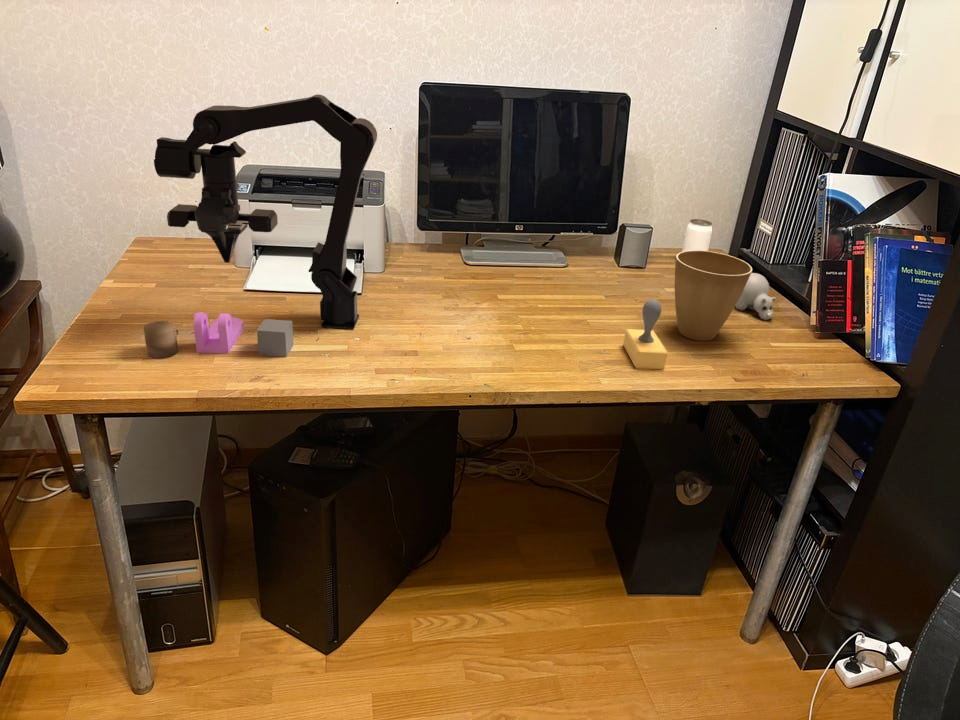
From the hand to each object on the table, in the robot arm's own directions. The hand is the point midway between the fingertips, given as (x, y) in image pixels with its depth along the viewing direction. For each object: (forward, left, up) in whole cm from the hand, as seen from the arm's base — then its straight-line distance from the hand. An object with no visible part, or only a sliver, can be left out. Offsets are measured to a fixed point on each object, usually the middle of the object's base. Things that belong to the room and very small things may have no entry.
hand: (227, 262), depth 135 cm
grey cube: (-12, +13, -12) cm, 21 cm away
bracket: (-1, +9, -12) cm, 15 cm away
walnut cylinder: (+7, +17, -12) cm, 22 cm away
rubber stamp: (-81, +5, -12) cm, 82 cm away
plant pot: (-95, -8, -12) cm, 96 cm away
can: (-105, -53, -12) cm, 118 cm away
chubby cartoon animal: (-111, -23, -12) cm, 114 cm away
